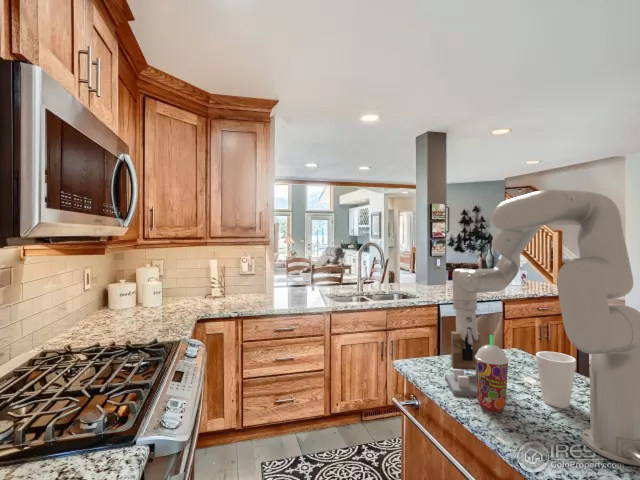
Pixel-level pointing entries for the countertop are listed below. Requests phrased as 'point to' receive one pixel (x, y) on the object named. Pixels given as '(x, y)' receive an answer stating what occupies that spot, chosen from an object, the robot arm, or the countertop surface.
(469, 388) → the hinge base
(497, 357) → the smoothie
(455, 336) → the door
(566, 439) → the countertop surface
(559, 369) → the foam cup
